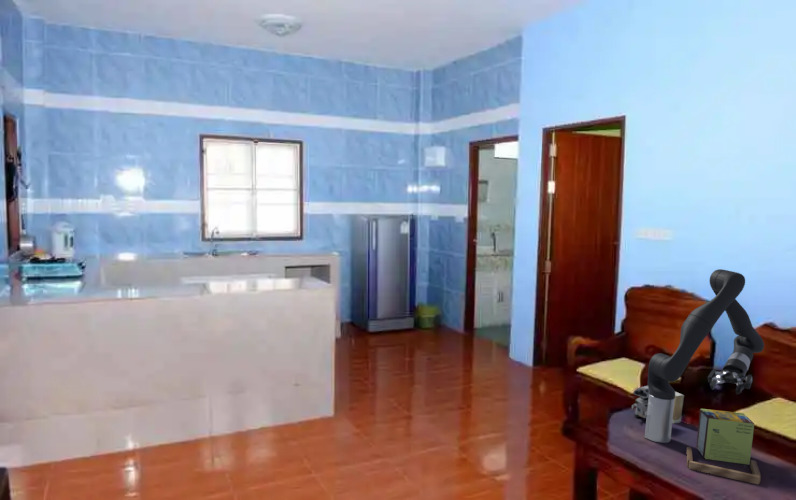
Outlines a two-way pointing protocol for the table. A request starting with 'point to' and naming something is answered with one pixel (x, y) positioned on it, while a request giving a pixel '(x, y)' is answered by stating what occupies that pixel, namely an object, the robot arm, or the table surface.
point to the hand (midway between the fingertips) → (724, 390)
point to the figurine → (641, 402)
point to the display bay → (725, 470)
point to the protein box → (725, 436)
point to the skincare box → (677, 407)
